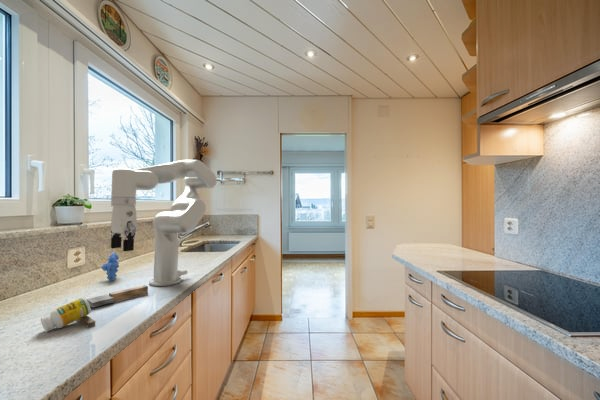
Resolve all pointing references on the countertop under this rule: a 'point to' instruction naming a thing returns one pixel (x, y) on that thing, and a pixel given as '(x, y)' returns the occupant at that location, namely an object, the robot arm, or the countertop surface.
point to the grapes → (111, 266)
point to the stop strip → (87, 321)
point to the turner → (118, 296)
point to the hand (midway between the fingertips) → (122, 249)
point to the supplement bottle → (66, 314)
